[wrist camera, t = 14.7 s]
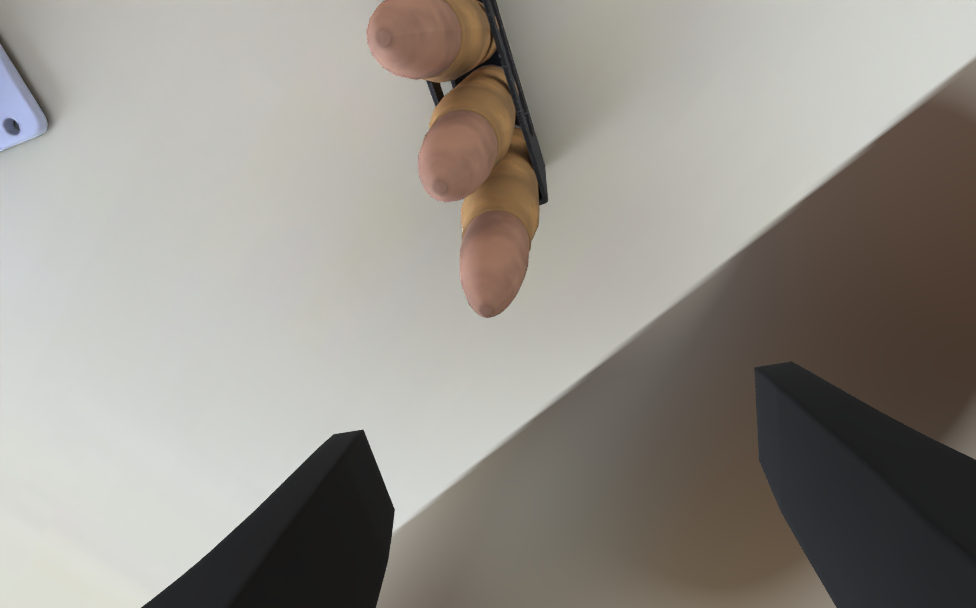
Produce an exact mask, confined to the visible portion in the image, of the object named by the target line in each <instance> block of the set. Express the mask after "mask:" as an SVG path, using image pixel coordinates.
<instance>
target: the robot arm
mask: <svg viewBox="0 0 976 608" xmlns="http://www.w3.org/2000/svg"><path fill="white" fill-rule="evenodd" d="M13 120H15V121H16V122H17V123H18V125H19V127H20V132H19V131H18V130H17V129H16V128H15V127H14V124H13ZM47 127H48V125H47V119H46V117H45V115H44V113H43V112H42V110H41V108H40V107H39V105H38V104H37V102H36V100H35V99H34V97H33V96H32V94H31V92H30V91H29V89H28V88H27V86H26V84H25V83H24V81H23V80H22V78H21V76H20V75H19V73H18V71H17V70H16V68H15V67H14V65H13V63H12V62H11V60H10V59H9V57H8V55H7V54H6V52H5V51H4V49H3V47H2V46H1V44H0V152H1V151H3V150H6V149H8V148H11V147H13V146H16V145H18V144H21V143H23V142H26V141H28V140H31V139H33V138H35V137H38V136H40V135H42V134H44V133H45V132H46V130H47ZM755 387H756V407H757V426H758V445H759V446H758V447H759V461H760V463H761V466H762V468H763V471H764V473H765V475H766V478H767V480H768V483H769V485H770V487H771V490H772V492H773V494H774V496H775V499H776V501H777V503H778V506H779V507H780V510H781V513H782V514H783V516H784V518H785V520H786V521H787V523H788V525H789V527H790V528H791V530H792V532H793V534H794V535H795V537H796V539H797V541H798V542H799V544H800V546H801V547H802V549H803V551H804V553H805V554H806V556H807V558H808V560H809V561H810V563H811V564H812V566H813V568H814V570H815V571H816V573H817V575H818V577H819V578H820V580H821V582H822V583H823V585H824V587H825V588H826V590H827V592H828V594H829V595H830V597H831V599H832V601H833V602H834V604H835V605H836V607H837V608H976V460H975V459H973V458H971V457H969V456H967V455H965V454H963V453H960V452H958V451H956V450H954V449H952V448H950V447H948V446H946V445H944V444H942V443H940V442H938V441H935V440H934V439H931V438H929V437H927V436H926V435H924V434H922V433H920V432H918V431H916V430H914V429H912V428H910V427H908V426H906V425H904V424H902V423H900V422H898V421H897V420H895V419H893V418H891V417H889V416H887V415H886V414H884V413H882V412H880V411H878V410H876V409H874V408H873V407H871V406H869V405H867V404H866V403H864V402H862V401H860V400H859V399H857V398H855V397H853V396H851V395H850V394H848V393H846V392H845V391H843V390H841V389H839V388H837V387H836V386H834V385H832V384H830V383H829V382H827V381H825V380H823V379H822V378H820V377H818V376H817V375H815V374H813V373H811V372H810V371H808V370H806V369H804V368H802V367H801V366H799V365H797V364H795V363H793V362H787V363H781V364H773V365H767V366H761V367H755ZM394 511H395V509H394V507H393V504H392V502H391V499H390V496H389V494H388V491H387V489H386V486H385V484H384V481H383V479H382V476H381V473H380V471H379V468H378V466H377V463H376V461H375V458H374V455H373V453H372V450H371V448H370V445H369V443H368V440H367V438H366V435H365V432H364V430H358V431H352V432H345V433H339V434H334V435H333V436H331V437H330V438H329V439H328V440H327V441H326V442H324V443H323V444H322V445H321V446H320V447H319V448H318V449H317V450H316V451H315V452H314V453H313V454H312V455H311V456H310V457H309V458H308V459H307V460H306V461H305V462H304V463H303V464H302V465H301V466H300V467H299V468H298V469H297V470H296V471H295V472H294V473H293V474H291V475H290V476H289V477H288V478H287V479H286V480H285V481H284V482H283V483H282V484H281V485H280V486H279V487H278V488H277V489H276V490H275V491H274V492H273V493H272V494H271V495H270V496H269V497H268V498H267V499H266V500H265V501H264V502H263V503H262V504H261V505H260V506H259V507H258V508H257V509H256V510H255V511H254V512H253V513H252V514H251V515H250V516H248V517H247V518H246V519H245V520H244V521H243V522H242V523H241V524H240V525H239V526H238V527H236V528H235V529H234V530H233V531H232V532H231V533H230V534H229V535H228V536H227V537H226V538H224V539H223V540H222V541H221V542H220V543H219V544H218V545H217V546H216V547H215V548H214V549H212V550H211V551H210V552H209V553H208V554H207V555H206V556H205V557H203V558H202V559H201V560H200V561H199V562H198V563H197V564H195V565H194V566H193V567H192V568H191V569H189V570H188V571H187V572H186V573H185V574H183V575H182V576H181V577H180V578H178V579H177V580H176V581H175V582H173V583H172V584H171V585H170V586H168V587H167V588H166V589H165V590H163V591H162V592H161V593H160V594H158V595H157V596H156V597H154V598H153V599H152V600H151V601H149V602H148V603H147V604H145V605H144V606H143V607H141V608H376V605H377V601H378V597H379V593H380V590H381V586H382V581H383V578H384V574H385V571H386V566H387V562H388V557H389V550H390V544H391V537H392V528H393V520H394Z"/></svg>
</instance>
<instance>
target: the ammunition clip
mask: <svg viewBox="0 0 976 608" xmlns="http://www.w3.org/2000/svg"><path fill="white" fill-rule="evenodd" d="M367 42H368V45H369V48H370V50H371V53H372V55H373V57H374V58H375V59H376V60H377V62H378V63H379V64H380V65H381V66H382V67H383V68H385V69H386V70H388V71H390V72H391V73H393V74H394V75H396V76H401V77H405V78H410V79H415V80H418V79H423V80H426V81H427V84H428V87H429V90H430V92H431V95H432V98H433V101H434V103H435V106H436V107H435V109H434V111H433V114H432V117H431V120H430V124H429V127H430V129H429V131H428V132H427V134H426V135H425V137H424V140H423V143H422V146H421V149H420V152H419V156H418V169H419V177H420V179H421V182H422V184H423V187H424V189H425V191H426V192H427V193H428V194H429V195H430V196H431V197H433V198H435V199H436V200H438V201H443V202H450V201H456V200H461V199H463V198H465V199H464V202H463V205H462V208H461V225H462V228H463V233H462V245H461V249H460V279H461V284H462V288H463V290H464V293H465V295H466V298H467V300H468V303H469V305H470V306H471V307H472V309H473V310H474V311H475V312H476V313H477V314H479V315H480V316H482V317H486V318H489V317H494V316H496V315H498V314H500V313H501V312H503V311H504V310H505V309H506V308H507V307H508V306H509V304H510V303H511V302H512V301H513V299H514V298H515V297H516V295H517V293H518V291H519V289H520V287H521V284H522V282H523V280H524V277H525V274H526V271H527V267H528V258H529V251H530V248H531V241H532V239H533V237H534V234H535V232H536V230H537V228H538V224H539V205H542V204H545V203H547V202H548V194H547V183H546V172H545V164H544V161H543V157H542V154H541V151H540V147H539V144H538V141H537V137H536V134H535V131H534V127H533V124H532V121H531V117H530V114H529V111H528V107H527V104H526V100H525V97H524V94H523V90H522V87H521V84H520V80H519V77H518V74H517V70H516V67H515V64H514V60H513V57H512V54H511V50H510V47H509V43H508V40H507V37H506V33H505V30H504V27H503V23H502V20H501V17H500V13H499V10H498V7H497V3H496V0H385V1H384V2H382V3H381V4H380V5H379V6H378V7H377V8H376V10H375V11H374V13H373V14H372V16H371V17H370V20H369V24H368V28H367ZM446 81H451V84H452V87H453V89H452V90H451V91H450V92H449V93H448V94H446V95H445V96H444V94H443V92H442V89H441V86H440V82H446Z"/></svg>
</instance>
